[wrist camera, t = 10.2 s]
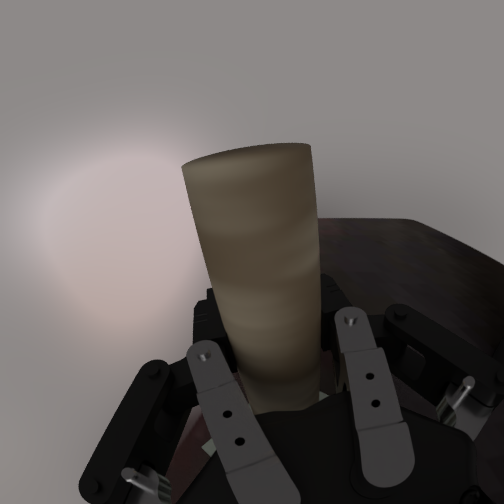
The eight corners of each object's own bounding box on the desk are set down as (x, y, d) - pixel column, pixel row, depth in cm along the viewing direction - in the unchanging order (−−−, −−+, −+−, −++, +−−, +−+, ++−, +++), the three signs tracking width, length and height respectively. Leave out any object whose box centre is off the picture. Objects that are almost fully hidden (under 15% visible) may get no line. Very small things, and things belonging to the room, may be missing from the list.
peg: (283, 392, 17) (242, 145, 10) (328, 415, 15) (332, 141, 8) (247, 429, 15) (158, 171, 8) (293, 458, 13) (250, 166, 5)
